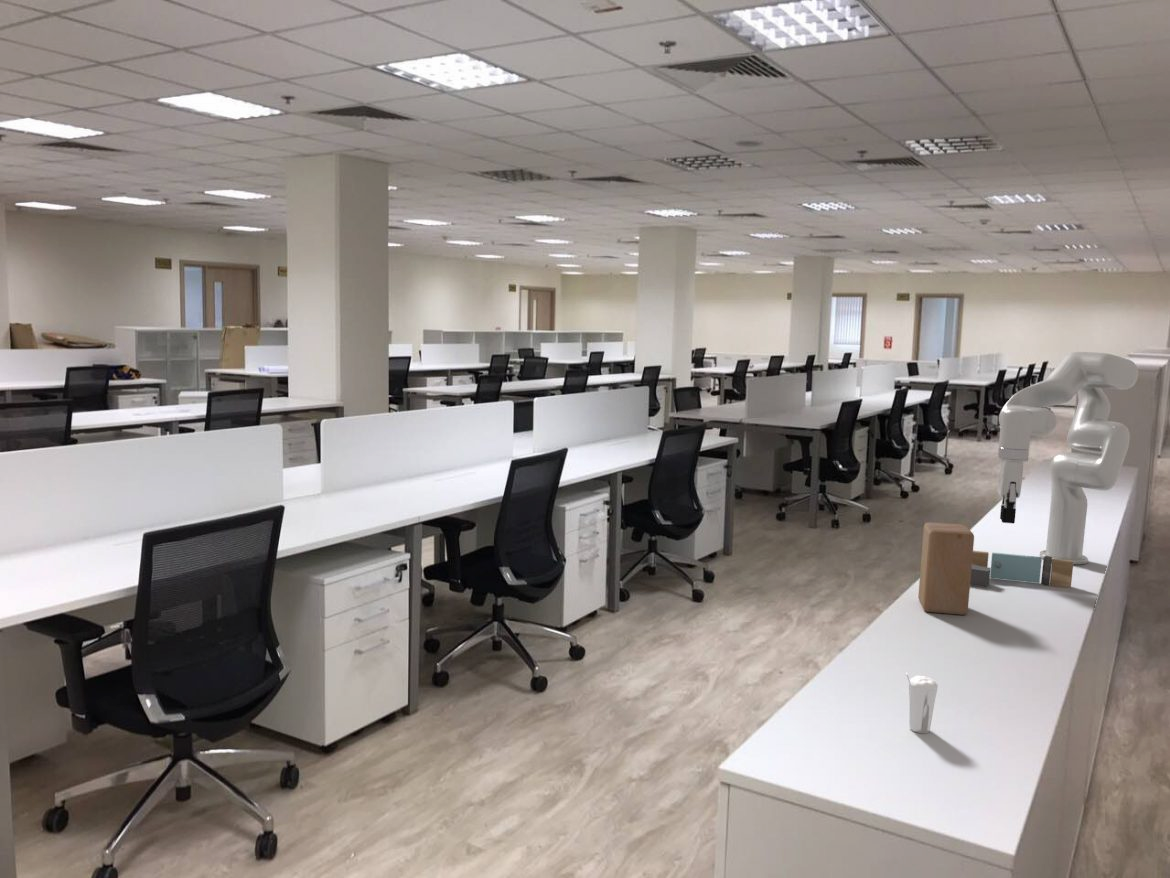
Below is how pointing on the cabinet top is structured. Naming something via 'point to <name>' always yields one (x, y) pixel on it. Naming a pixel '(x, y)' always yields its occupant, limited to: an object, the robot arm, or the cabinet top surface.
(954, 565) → the wooden block
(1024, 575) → the door
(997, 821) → the cabinet top surface
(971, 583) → the charcoal brick
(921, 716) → the milkshake
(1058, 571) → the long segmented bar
